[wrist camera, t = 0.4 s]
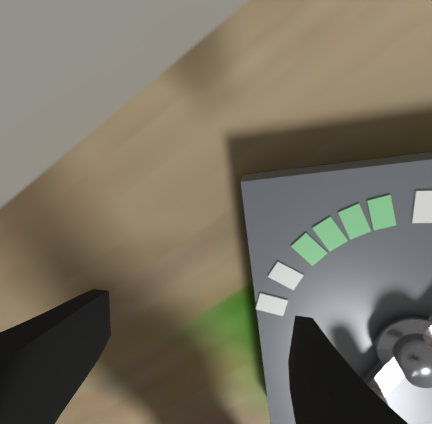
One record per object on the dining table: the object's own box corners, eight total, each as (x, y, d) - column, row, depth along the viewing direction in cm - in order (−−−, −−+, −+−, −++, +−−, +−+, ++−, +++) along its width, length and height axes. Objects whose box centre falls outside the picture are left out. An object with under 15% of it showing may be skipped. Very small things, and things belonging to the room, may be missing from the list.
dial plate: (493, 404, 22) (523, 440, 19) (269, 403, 25) (271, 434, 22) (527, 140, 17) (573, 142, 14) (242, 174, 20) (239, 182, 17)
